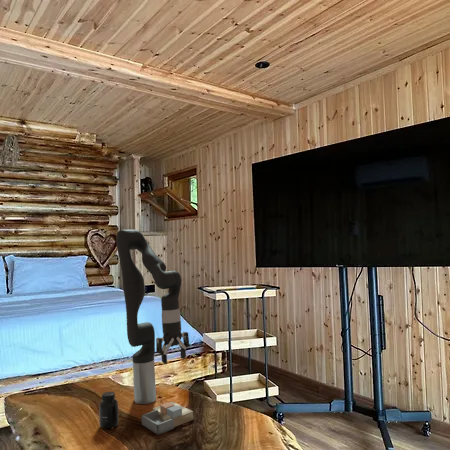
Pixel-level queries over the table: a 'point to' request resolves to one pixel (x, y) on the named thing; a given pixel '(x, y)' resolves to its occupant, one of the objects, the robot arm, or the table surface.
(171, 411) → the blue gray block
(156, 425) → the tray
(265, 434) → the table surface
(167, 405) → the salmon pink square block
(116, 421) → the supplement bottle
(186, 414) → the board
